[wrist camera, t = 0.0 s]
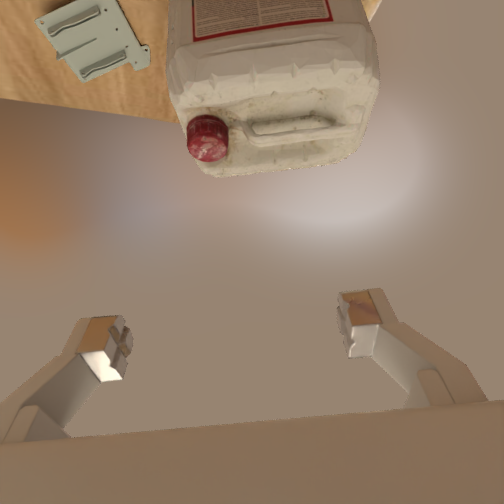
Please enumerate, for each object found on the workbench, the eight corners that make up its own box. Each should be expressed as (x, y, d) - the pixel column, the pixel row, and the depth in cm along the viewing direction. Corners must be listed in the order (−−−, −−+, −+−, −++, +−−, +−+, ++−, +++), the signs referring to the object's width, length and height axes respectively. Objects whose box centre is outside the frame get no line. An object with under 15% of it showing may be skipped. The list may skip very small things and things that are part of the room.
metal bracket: (87, 100, 59) (17, 16, 46) (82, 80, 62) (15, -5, 48) (158, 67, 59) (109, -28, 45) (151, 48, 61) (102, -47, 48)
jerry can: (194, 58, 60) (197, 196, 48) (160, -75, 43) (152, 90, 31) (325, 40, 59) (360, 177, 47) (343, -103, 42) (406, 57, 30)
